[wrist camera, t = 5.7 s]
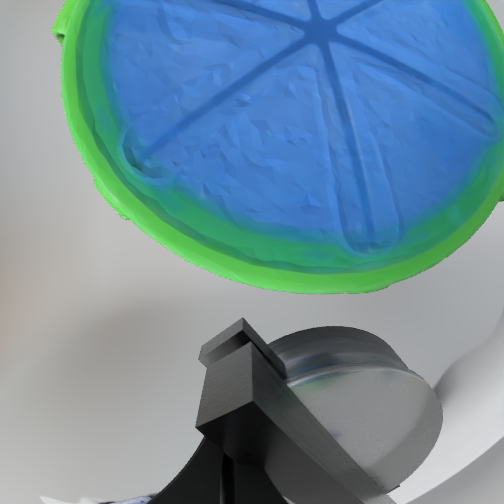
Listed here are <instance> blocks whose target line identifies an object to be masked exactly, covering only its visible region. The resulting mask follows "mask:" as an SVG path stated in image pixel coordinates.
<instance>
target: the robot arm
mask: <svg viewBox="0 0 504 504" xmlns="http://www.w3.org/2000/svg"><path fill="white" fill-rule="evenodd" d="M111 504H289V503H288V502H287V501H286V500H285V498H284V497H283V496H282V495H281V493H280V492H279V491H278V489H277V488H276V486H275V485H274V484H273V482H272V480H271V479H270V477H269V476H268V474H267V472H266V470H265V469H264V468H263V467H261V466H251V465H242V464H238V463H237V462H236V461H234V460H233V459H232V458H231V457H229V456H228V455H227V454H226V453H224V452H223V451H222V450H221V449H220V448H218V447H217V446H216V445H215V444H214V443H212V442H211V441H210V440H209V439H208V438H207V437H205V436H204V438H203V439H202V441H201V443H200V445H199V446H198V448H197V450H196V451H195V453H194V454H193V456H192V457H191V458H190V460H189V461H188V463H187V464H186V465H185V467H184V468H183V469H182V470H181V471H180V472H179V474H178V475H177V476H176V477H175V478H174V479H173V480H172V481H171V482H170V483H169V484H168V485H167V486H166V487H165V488H164V489H163V490H162V491H161V492H159V493H158V494H157V495H156V496H155V497H153V498H150V497H148V496H141V497H138V498H133V499H129V500H125V501H120V502H115V503H111Z"/></svg>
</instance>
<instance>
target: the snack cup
mask: <svg viewBox="0 0 504 504" xmlns="http://www.w3.org/2000/svg"><path fill="white" fill-rule="evenodd" d="M51 32H52V34H53V35H54V36H55V38H56V39H57V40H58V41H59V43H60V44H61V46H62V47H63V49H62V55H61V97H62V102H63V107H64V112H65V116H66V120H67V123H68V126H69V129H70V132H71V135H72V138H73V141H74V143H75V145H76V147H77V149H78V151H79V152H80V154H81V156H82V159H83V161H84V164H85V165H86V167H87V168H88V169H89V171H90V172H91V174H92V175H93V177H94V185H95V186H96V188H97V189H98V191H99V192H100V193H101V195H102V196H103V198H104V199H105V200H106V201H107V202H108V204H109V205H110V206H111V207H112V208H114V209H115V210H116V211H117V212H118V214H119V215H120V216H121V217H122V218H124V219H125V220H131V221H132V222H133V223H134V224H135V225H136V226H137V227H139V228H140V229H141V230H142V231H143V232H144V233H146V234H147V235H149V236H150V237H151V238H152V239H154V240H155V241H157V242H158V243H160V244H161V245H162V246H164V247H166V248H167V249H169V250H170V251H172V252H173V253H175V254H177V255H178V256H180V257H181V258H183V259H185V260H186V261H188V262H190V263H192V264H194V265H196V266H198V267H201V268H203V269H205V270H207V271H210V272H212V273H214V274H216V275H219V276H221V277H224V278H227V279H230V280H233V281H237V282H241V283H244V284H248V285H252V286H255V287H259V288H263V289H270V290H276V291H285V292H292V293H301V294H336V293H349V294H357V293H368V292H373V291H378V290H381V289H384V288H386V287H388V286H389V285H390V284H393V283H396V282H399V281H402V280H405V279H407V278H410V277H413V276H415V275H417V274H418V273H421V272H423V271H425V270H427V269H429V268H431V267H433V266H434V265H436V264H437V263H439V262H440V261H441V260H443V259H444V258H446V257H448V256H449V255H450V254H452V253H453V252H454V251H455V250H456V249H458V248H459V247H460V246H461V245H463V244H464V243H465V242H466V241H468V239H470V237H471V236H472V235H473V234H474V233H475V232H476V231H477V230H478V229H479V228H480V227H481V225H482V224H483V223H484V222H485V221H486V219H487V218H488V217H489V215H490V214H491V212H492V211H493V209H494V208H495V206H496V204H497V203H498V202H500V201H504V34H503V32H502V30H501V28H500V25H499V23H498V21H497V19H496V17H495V16H494V14H493V12H492V10H491V9H490V7H489V5H488V4H487V2H486V1H485V0H66V2H65V4H64V5H63V7H62V9H61V11H60V13H59V15H58V17H57V18H56V21H55V23H54V25H53V28H52V30H51Z"/></svg>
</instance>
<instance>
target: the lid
mask: <svg viewBox="0 0 504 504" xmlns="http://www.w3.org/2000/svg"><path fill="white" fill-rule="evenodd" d="M442 421H443V411H442V406H441V402H440V400H439V398H438V396H437V394H436V393H435V392H434V390H433V389H432V388H431V387H430V386H429V384H428V383H427V382H426V381H425V380H424V379H423V378H422V377H420V376H419V375H418V374H416V373H415V372H413V371H411V370H409V369H407V368H404V367H401V366H397V365H394V364H389V363H380V362H355V363H345V364H338V365H333V366H328V367H323V368H319V369H316V370H312V371H309V372H305V373H302V374H300V375H297V376H294V377H292V378H289V379H286V380H284V381H283V380H282V378H281V377H280V376H279V375H278V374H277V372H276V371H275V370H274V369H273V368H272V366H271V365H270V364H269V363H268V362H267V360H266V359H265V358H264V357H263V355H262V354H261V353H260V352H259V351H258V349H257V348H256V347H255V346H254V344H253V343H252V342H249V343H248V344H246V345H244V346H243V347H241V348H239V349H237V350H236V351H234V352H232V353H231V354H229V355H227V356H225V357H224V358H222V359H220V360H218V361H217V362H215V363H213V364H211V365H209V366H208V367H207V371H206V376H205V381H204V386H203V391H202V396H201V401H200V406H199V411H198V416H197V421H196V426H195V428H197V429H198V430H199V431H200V432H201V433H202V434H203V435H204V436H205V437H207V438H208V439H209V440H210V441H211V442H212V443H214V444H215V445H216V446H217V447H218V448H220V449H221V450H222V451H223V452H224V453H226V454H227V455H228V456H229V457H231V458H232V459H233V460H234V461H236V462H237V463H238V464H242V465H251V466H261V467H263V468H264V469H265V470H266V472H267V474H268V476H269V477H270V479H271V480H272V482H273V484H274V485H275V486H276V488H277V489H278V491H279V492H280V493H281V495H282V496H283V497H284V498H285V500H286V501H287V502H288V503H289V504H396V503H395V502H394V501H393V500H392V499H391V498H390V497H389V496H388V495H387V494H386V493H387V492H389V491H390V490H392V489H393V488H395V487H396V486H397V485H399V484H400V483H402V482H403V481H404V480H405V479H406V478H408V477H409V476H410V475H411V474H412V473H413V472H414V471H415V470H416V469H417V468H418V467H419V466H420V465H421V464H422V463H423V461H424V460H425V459H426V458H427V456H428V455H429V453H430V452H431V450H432V449H433V447H434V445H435V443H436V441H437V439H438V437H439V434H440V431H441V427H442Z"/></svg>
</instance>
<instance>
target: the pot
mask: <svg viewBox="0 0 504 504" xmlns="http://www.w3.org/2000/svg"><path fill="white" fill-rule="evenodd" d="M249 342H252V343H253V344H254V346H255V347H256V348H257V349H258V351H259V352H260V353H261V354H262V355H263V357H264V358H265V359H266V360H267V362H268V363H269V364H270V365H271V366H272V368H273V369H274V370H275V371H276V372H277V374H278V375H279V376H280V377H281V378H282V380H283V381H284V380H286V379H289V378H292V377H294V376H297V375H300V374H302V373H305V372H309V371H312V370H316V369H319V368H323V367H328V366H333V365H338V364H345V363H355V362H380V363H389V364H394V365H397V366H401V367H404V368H407V369H408V367H407V366H406V365H405V364H404V363H403V362H402V360H401V359H400V358H399V356H398V355H397V354H396V353H395V352H394V350H393V349H392V348H391V347H390V346H389V345H388V344H387V343H386V342H385V341H384V340H382V339H380V338H379V337H377V336H376V335H374V334H371V333H369V332H367V331H364V330H360V329H356V328H351V327H343V326H326V327H317V328H311V329H306V330H302V331H298V332H295V333H292V334H289V335H286V336H284V337H282V338H279V339H277V340H275V341H273V342H271V343H269V344H268V345H267V344H266V343H265V342H264V341H263V339H262V338H261V337H260V336H259V335H258V334H257V333H256V332H255V330H254V329H253V328H252V327H251V326H250V325H249V324H248V323H247V321H246V320H245V319H244V318H241V319H240V320H239V321H237V322H236V323H234V324H233V325H231V326H230V327H229V328H227V329H226V330H224V331H223V332H221V333H220V334H218V335H217V336H216V337H214V338H213V339H211V340H210V341H208V342H207V343H205V344H204V345H202V347H201V351H200V355H199V358H198V360H199V361H200V362H201V363H202V364H203V365H204V366H205V367H208V366H209V365H211V364H213V363H215V362H217V361H218V360H220V359H222V358H224V357H225V356H227V355H229V354H231V353H232V352H234V351H236V350H237V349H239V348H241V347H243V346H244V345H246V344H248V343H249ZM398 487H400V485H397V486H396V487H395V488H393V489H392V490H390V491H389V492H391V491H393V490H394V489H396V488H398ZM389 492H387V493H389ZM387 493H386V494H387Z"/></svg>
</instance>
